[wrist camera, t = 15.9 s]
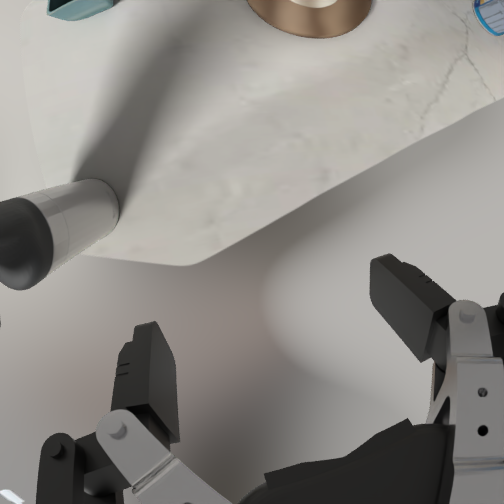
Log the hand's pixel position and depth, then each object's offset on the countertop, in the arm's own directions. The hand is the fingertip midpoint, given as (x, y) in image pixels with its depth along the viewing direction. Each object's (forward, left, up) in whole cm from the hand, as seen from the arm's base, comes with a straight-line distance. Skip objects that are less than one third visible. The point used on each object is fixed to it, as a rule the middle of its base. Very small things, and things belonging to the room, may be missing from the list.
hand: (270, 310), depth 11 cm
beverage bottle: (+50, +29, -32) cm, 66 cm away
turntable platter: (+13, +29, -30) cm, 44 cm away
